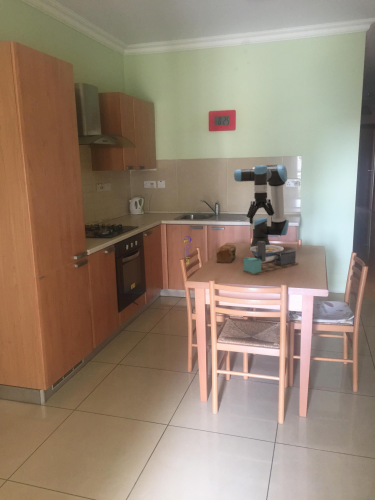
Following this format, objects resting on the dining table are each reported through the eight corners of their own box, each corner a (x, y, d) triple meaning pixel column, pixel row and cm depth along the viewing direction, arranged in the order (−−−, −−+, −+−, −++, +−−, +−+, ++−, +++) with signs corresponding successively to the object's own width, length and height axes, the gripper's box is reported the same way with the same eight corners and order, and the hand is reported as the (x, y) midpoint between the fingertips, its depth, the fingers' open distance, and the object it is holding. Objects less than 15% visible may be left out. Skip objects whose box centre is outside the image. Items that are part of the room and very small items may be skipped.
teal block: (250, 268, 242) (250, 256, 241) (261, 271, 235) (261, 259, 233) (243, 270, 239) (243, 258, 238) (253, 273, 232) (253, 261, 230)
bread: (231, 263, 262) (231, 248, 260) (215, 262, 265) (215, 248, 263) (236, 256, 279) (236, 243, 277) (221, 256, 282) (221, 242, 280)
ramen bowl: (284, 263, 256) (284, 251, 254) (249, 263, 260) (249, 251, 259) (283, 254, 280) (283, 243, 278) (250, 254, 284) (250, 243, 282)
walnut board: (287, 261, 259) (287, 260, 259) (297, 264, 251) (297, 263, 251) (243, 271, 239) (243, 270, 239) (253, 275, 232) (253, 273, 232)
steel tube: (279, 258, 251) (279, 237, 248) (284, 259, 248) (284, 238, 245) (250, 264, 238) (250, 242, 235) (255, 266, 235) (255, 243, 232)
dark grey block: (288, 261, 257) (288, 249, 256) (295, 262, 252) (295, 251, 251) (273, 264, 250) (274, 252, 249) (280, 266, 245) (281, 254, 244)
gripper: (249, 194, 223) (249, 230, 228) (280, 190, 236) (280, 225, 241) (240, 193, 229) (240, 229, 234) (271, 190, 242) (271, 224, 247)
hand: (260, 227), depth 237 cm, fingers open, 13 cm apart
